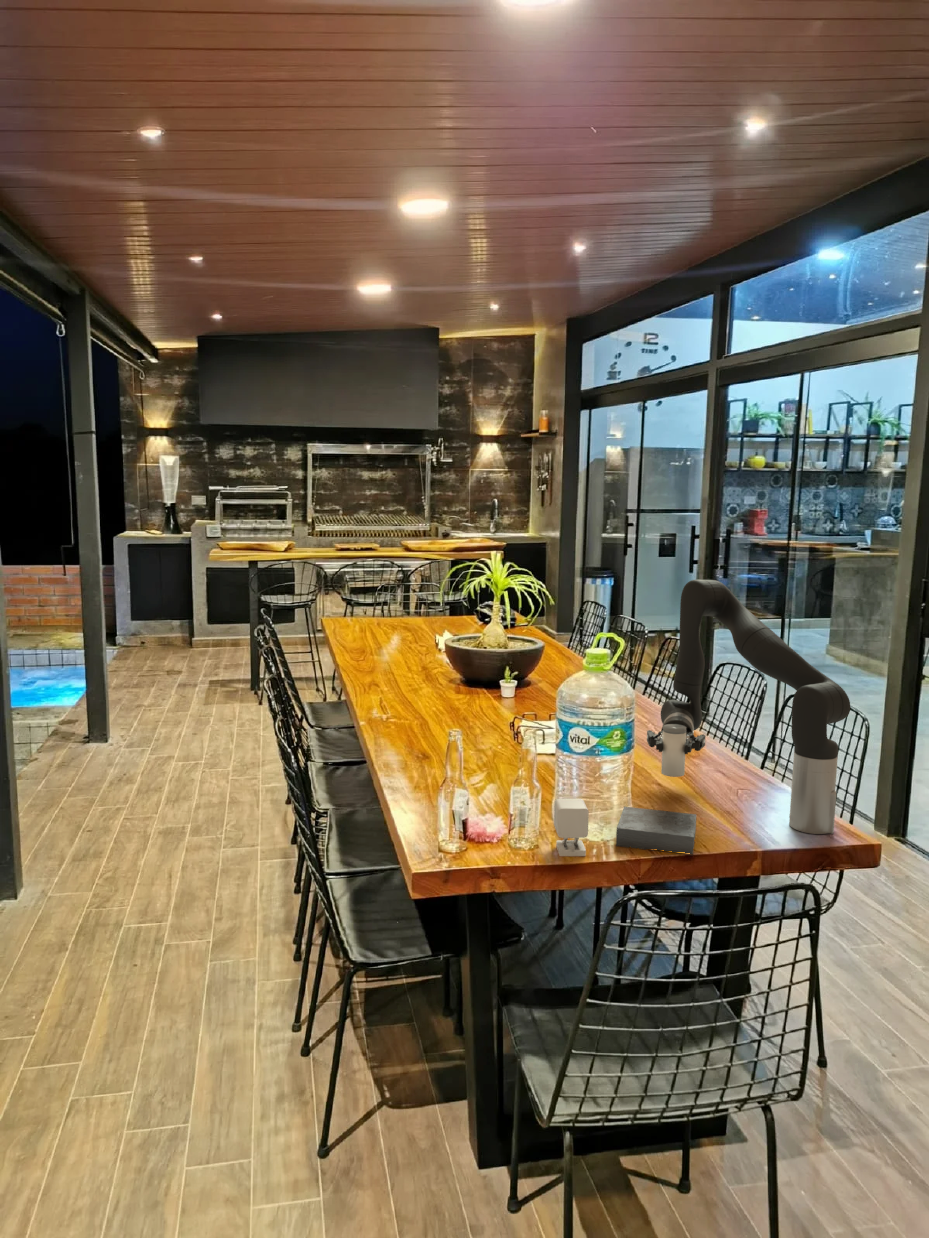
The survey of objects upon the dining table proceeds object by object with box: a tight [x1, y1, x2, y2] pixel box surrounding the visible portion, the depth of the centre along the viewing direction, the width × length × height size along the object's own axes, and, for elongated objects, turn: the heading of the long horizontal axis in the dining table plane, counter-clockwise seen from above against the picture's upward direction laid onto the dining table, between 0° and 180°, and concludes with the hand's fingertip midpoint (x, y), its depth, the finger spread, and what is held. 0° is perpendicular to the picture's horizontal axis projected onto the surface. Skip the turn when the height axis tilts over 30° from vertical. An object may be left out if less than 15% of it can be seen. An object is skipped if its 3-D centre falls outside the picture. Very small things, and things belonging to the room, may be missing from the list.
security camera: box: [553, 798, 590, 857], centre depth 195 cm, size 6×7×10 cm
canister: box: [660, 724, 686, 778], centre depth 212 cm, size 5×5×11 cm
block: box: [615, 806, 697, 855], centre depth 202 cm, size 16×14×4 cm
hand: (673, 748), depth 210 cm, fingers closed on canister, 5 cm apart
